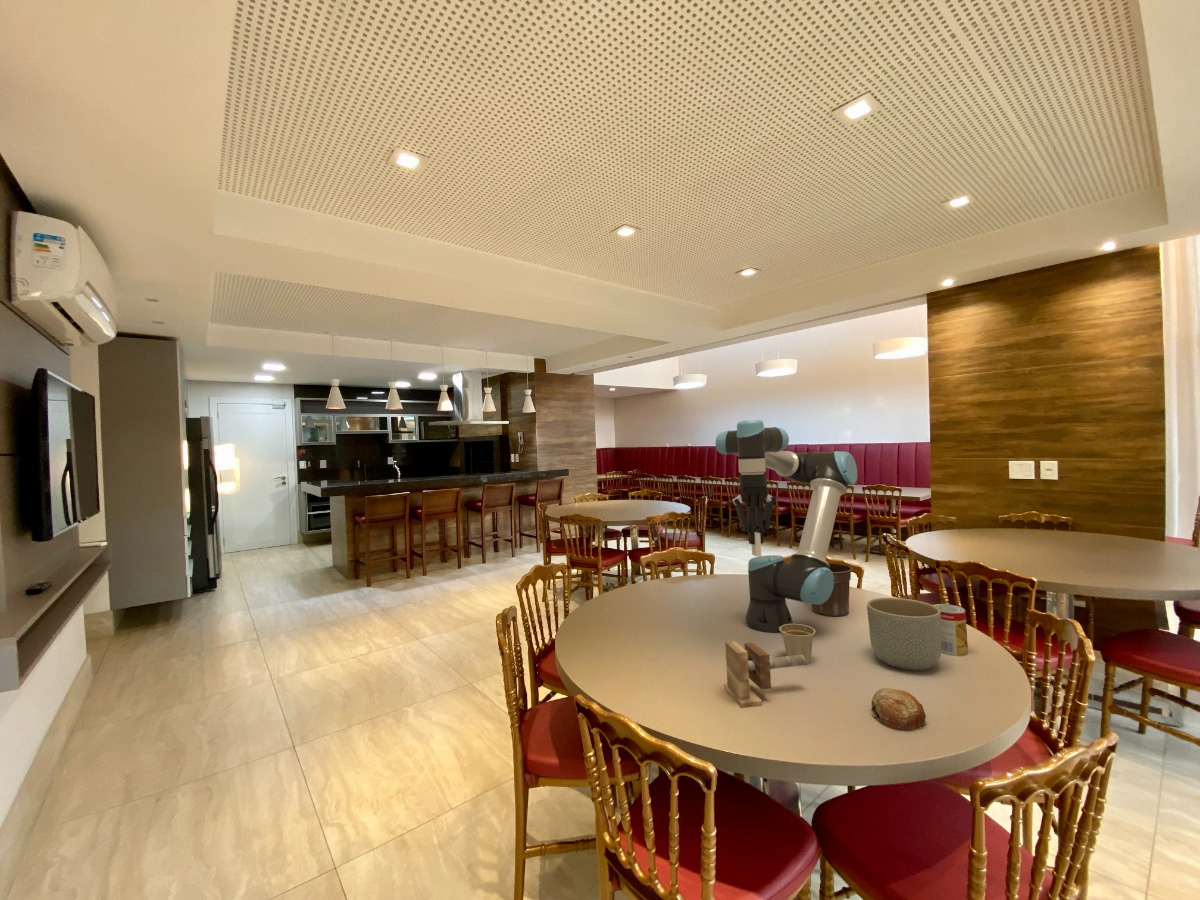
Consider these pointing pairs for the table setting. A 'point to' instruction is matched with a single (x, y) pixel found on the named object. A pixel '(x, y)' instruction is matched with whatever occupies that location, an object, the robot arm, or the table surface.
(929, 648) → the planter
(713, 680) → the table surface
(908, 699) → the bread roll
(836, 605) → the plant pot
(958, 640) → the canned food
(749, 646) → the collar
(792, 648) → the flower pot
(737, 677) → the rail stand
